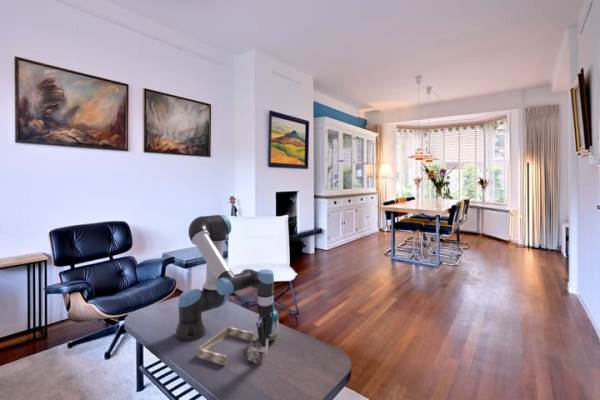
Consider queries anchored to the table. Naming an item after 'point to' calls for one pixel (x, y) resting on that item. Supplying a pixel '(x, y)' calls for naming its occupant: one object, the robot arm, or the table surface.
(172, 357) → the table surface
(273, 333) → the vase
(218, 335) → the u-shaped wooden frame
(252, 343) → the mineral rock
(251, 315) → the table surface
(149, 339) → the table surface
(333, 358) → the table surface
